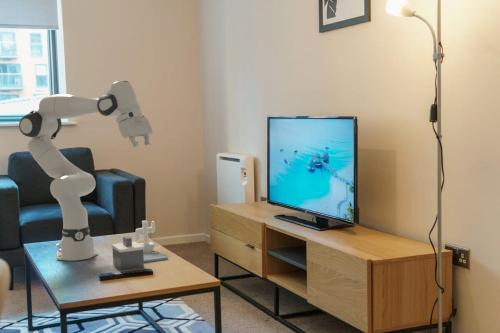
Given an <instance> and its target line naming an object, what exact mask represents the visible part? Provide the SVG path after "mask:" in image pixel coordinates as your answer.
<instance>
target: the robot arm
mask: <svg viewBox="0 0 500 333" xmlns="http://www.w3.org/2000/svg"><path fill="white" fill-rule="evenodd" d="M96 113H99V114H100V115H101V116H104V117H115V121H116V123H117V125H118V129H119V132H120V135H121V136H122V137H123V138H124V139H126V138H127V139H129V141H130V142H131V143H132V146H133V147H134V148H137V147H138V146H139V143H138V141H136V139H135V138H137V137H143V139H144V142H143V143H144V145H145V146H149V145H151V143H150V135H151V134H153V128H152V126H151V123H150V121H149V119H148V118H146V117H145V116H144V115H143V113H142V110H141V107H140V105H139V103H138V102H137V95H136V93H135V90H134V88H133V86H132V84H131V82H130V81H128V80H117V81H115V82H113V83H111V86H110V87H109V89H108V91H106V93H104V94H103V95H101V96H99V98H90V97H89V98H88V97H83V96H78V95H73V94H65V93H64V94H53V95H48V96H45V97H42V98H41V100H40V101H39V104H38V110H31V111H30V112H29V113H27V114H26V115H23V116H22V117H21V118H20V120H19V124H18V127H19V131H20V132H21V134H22V135H24V136H25V137H28V138H31V139H30V140H29V141H28V143H27V149H28V151H29V153H30V154H31V156H32V158H33V159H34V161H36V163H37V164H38V165H39V166H40V168H41V169H42V170H43V171H44V172H45V173H46V174H47V175H48V176H49V177H50V178H53V180H52V181H51V183H50V186H49V189H50V190H49V191H50V193H51V195H52V197H53V198H54V199H56V200H57V202H58V204H59V205H60V209H61V214H62V223H63V225H62V226H63V228H62V232H61V233H62V237H61V240H60V242H59V243H56V246H57V249H59V250H58V251H56V252H55V253H56V261H69V262H70V261H73V262H74V261H84V260H87V259H88V260H89V259H91V258H93V257H96V256H98V252H96V251H95V246H94V238H93V237H92V236H91V235H90V226H89V221H88V220H89V219H88V218H89V216H88V209H87V208H86V207H85V206H83V204H82V200H81V197H83V196H84V197H85V196H88V195H89V194H90V193H92V192H93V191H94V190H95V188H96V184H97V182H96V179H95V177H94V175H92V174H91V173H88V172H86V171H84V170H82V169H81V168H79V167H78V166H76V165H75V164H73V163H72V162H71V161H69V160H68V159H67V158H66V157H65V156H64V154H63V153H62V152H61V151H60V150H59V149H58V148H57V147H56V146H55V144H54V143H53V142H52V140H54V139H56V137H57V135H58V134H59V132H60V131H61V128H62V120H63V119H72V118H76V117H81V116H84V115H90V114H96Z"/></svg>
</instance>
